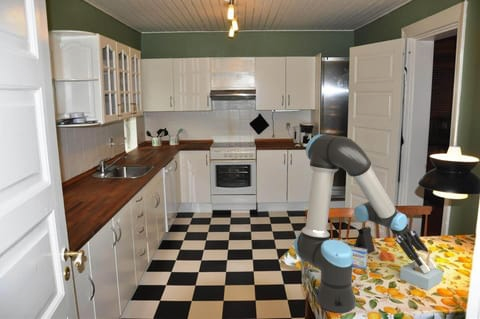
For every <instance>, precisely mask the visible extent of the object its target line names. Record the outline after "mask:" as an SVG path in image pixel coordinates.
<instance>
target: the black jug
mask: <svg viewBox="0 0 480 319" xmlns="http://www.w3.org/2000/svg"><path fill="white" fill-rule="evenodd" d="M371 232H372V228H371V227H370V226H365V227H361V228H359V229H358V234H357V238H356V240H355V242H354V245H353V247H358V248H364V249H368V251H367V255H369V254H371V253H373V252H375V251H376V249H375V244H374V241H373V236H372V233H371Z"/></svg>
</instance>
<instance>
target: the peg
mask: <svg viewBox="0 0 480 319" xmlns="http://www.w3.org/2000/svg"><path fill="white" fill-rule="evenodd" d="M416 253H417V255H418V258H419V257H421V258H422V260H423V261H424V263H425V264H426V265H427V267H428V268H429V259H430V258H431V257H430V256H431V253H430V252H429V251H428V252H426V251H423V250H419V251H417V250H416ZM414 261H415V260H414ZM415 271H418V272H420V273H423V274H424V272H423V271H422V269H421V268H420V267H419V266H418V264H417V263H416V261H415ZM427 273H428V272H427ZM425 274H426V273H425Z"/></svg>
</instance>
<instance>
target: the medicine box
mask: <svg viewBox="0 0 480 319" xmlns="http://www.w3.org/2000/svg"><path fill="white" fill-rule="evenodd" d="M349 247H350V248H351V250H352V257H353V266H352V268H357V269H361V270H366V268H367V266H368V254H367V251H368V249H364V248H358V247H354V245H353V246H351V245H350V246H349Z"/></svg>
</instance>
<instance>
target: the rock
mask: <svg viewBox="0 0 480 319" xmlns="http://www.w3.org/2000/svg"><path fill="white" fill-rule="evenodd" d="M379 258H380V259H381V261H383V262H389V261H393V260H395V258H396V255H395V254H394V253H392V252H391V253H390V252H387V251H385V250H381V251H380V255H379Z"/></svg>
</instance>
